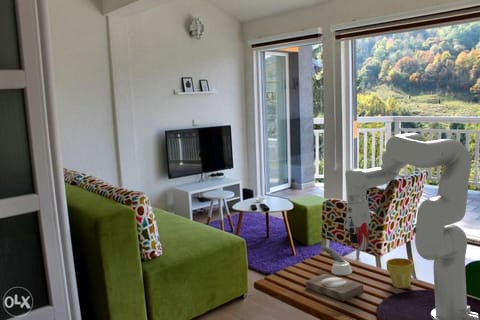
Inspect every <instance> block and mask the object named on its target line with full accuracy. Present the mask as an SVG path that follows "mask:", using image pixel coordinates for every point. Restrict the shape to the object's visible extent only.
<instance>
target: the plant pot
mask: <svg viewBox="0 0 480 320" xmlns="http://www.w3.org/2000/svg"><path fill="white" fill-rule="evenodd" d="M385 264H386V271H387V272H388V274H389V277H390V280H391V283H392V286H393V287H395V288H398V289H407V288H410V287H411V283H412V282H411V281H412V275H413V272H414V269H415V268H414V267H415V265H414V262H413V260H411V259H410V258H409V259H408V258H403V257H399V258H390V259H388V260H386V262H385Z"/></svg>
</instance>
